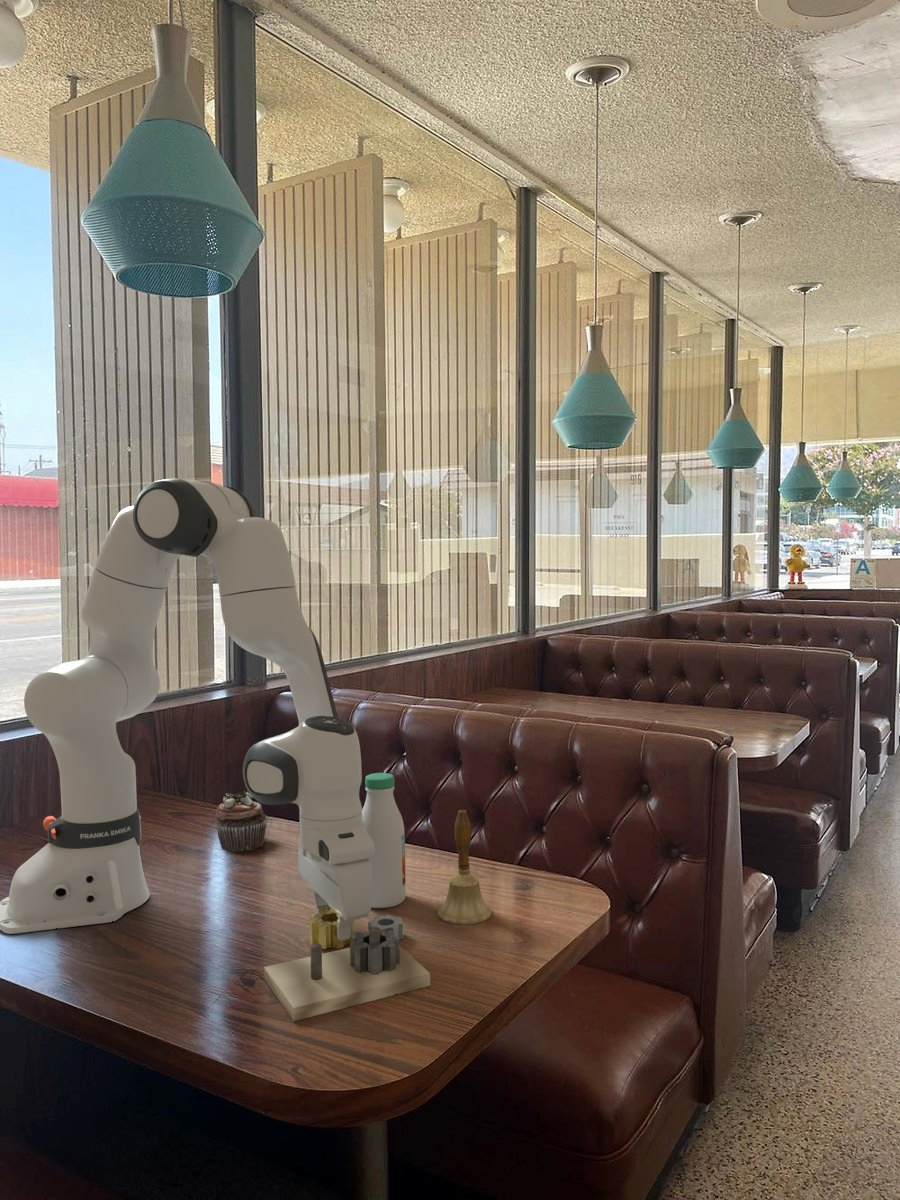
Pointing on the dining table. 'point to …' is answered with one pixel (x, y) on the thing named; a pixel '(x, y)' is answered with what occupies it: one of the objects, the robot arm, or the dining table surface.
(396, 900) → the milk bottle
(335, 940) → the brass gear
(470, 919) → the hand bell
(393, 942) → the steel gear
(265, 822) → the cupcake
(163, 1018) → the dining table surface
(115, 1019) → the dining table surface
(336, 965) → the gear board
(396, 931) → the zinc gear
